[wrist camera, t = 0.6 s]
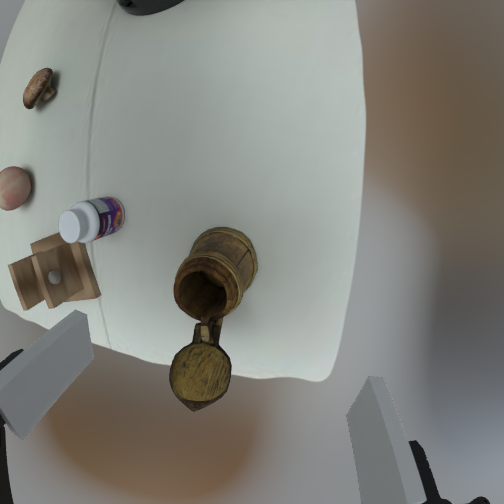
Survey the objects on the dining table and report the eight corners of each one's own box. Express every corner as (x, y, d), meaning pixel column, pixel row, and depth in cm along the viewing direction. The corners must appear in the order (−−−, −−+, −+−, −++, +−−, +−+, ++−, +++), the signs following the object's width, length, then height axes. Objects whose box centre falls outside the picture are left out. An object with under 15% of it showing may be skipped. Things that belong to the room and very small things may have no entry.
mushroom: (53, 96, 28) (24, 85, 23) (40, 122, 32) (14, 113, 27) (69, 67, 30) (43, 56, 25) (53, 93, 34) (30, 84, 29)
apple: (15, 173, 36) (-14, 176, 28) (34, 159, 35) (3, 160, 27) (21, 210, 38) (-8, 218, 30) (40, 199, 36) (8, 206, 29)
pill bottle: (115, 239, 37) (75, 258, 27) (92, 218, 36) (50, 231, 27) (131, 210, 35) (89, 221, 26) (107, 189, 35) (63, 195, 25)
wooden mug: (197, 318, 39) (149, 405, 21) (189, 227, 35) (113, 272, 18) (258, 321, 38) (242, 418, 20) (257, 226, 34) (233, 277, 17)
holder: (35, 242, 39) (0, 255, 30) (79, 225, 37) (39, 238, 28) (54, 300, 42) (23, 321, 33) (101, 294, 40) (67, 320, 30)
